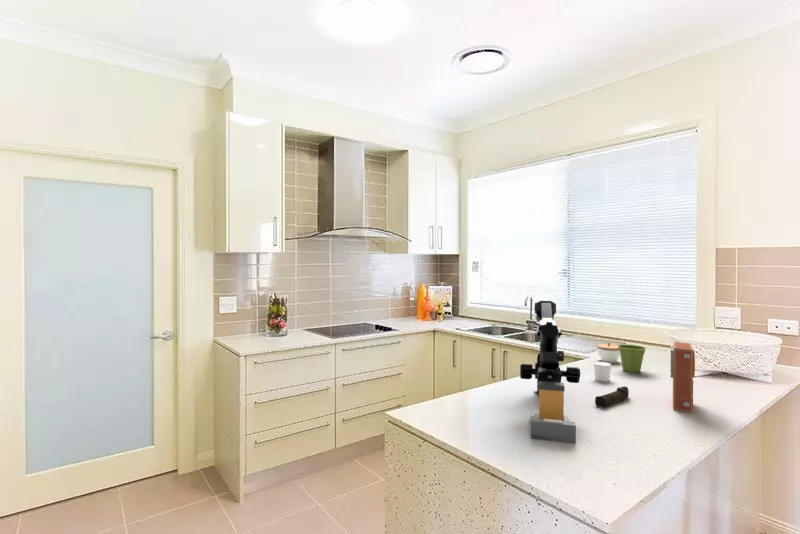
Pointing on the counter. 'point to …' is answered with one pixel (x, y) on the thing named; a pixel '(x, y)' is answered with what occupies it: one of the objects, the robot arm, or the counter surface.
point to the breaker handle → (551, 400)
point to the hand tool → (612, 397)
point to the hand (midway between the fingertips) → (550, 396)
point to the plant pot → (631, 357)
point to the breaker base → (553, 429)
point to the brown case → (682, 375)
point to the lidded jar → (608, 352)
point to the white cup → (602, 371)
